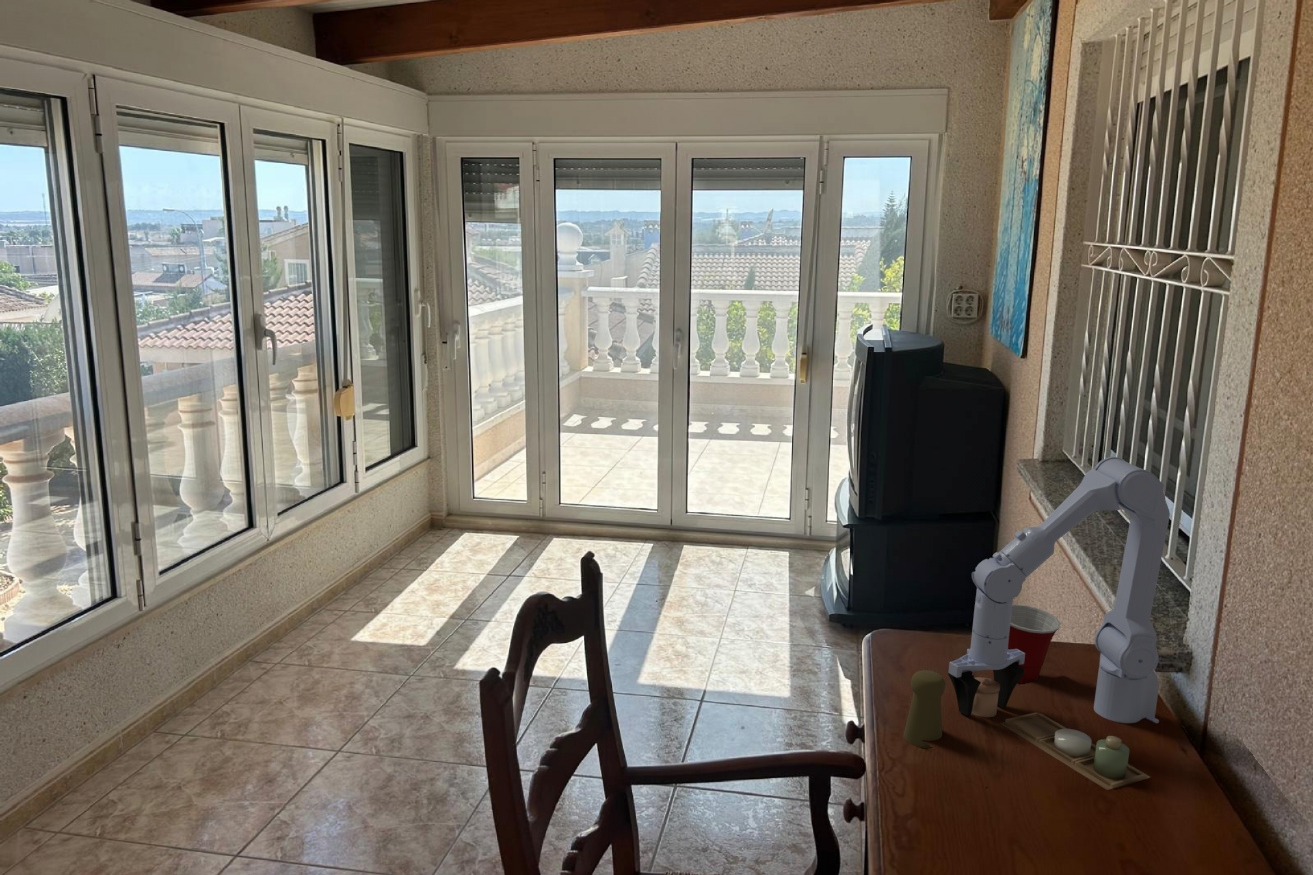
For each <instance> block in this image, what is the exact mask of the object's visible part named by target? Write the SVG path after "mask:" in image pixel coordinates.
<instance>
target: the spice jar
mask: <svg viewBox="0 0 1313 875" xmlns="http://www.w3.org/2000/svg"><path fill="white" fill-rule="evenodd" d="M974 678H975V679H976V680H978V681H980V682H981V684H980V685H979V687H978V689H977V691H976V694H975V697H974V702H973V709H972V713H971V714H973V715H975V716H977V717H981V718H991V717H992V718H993V717H995V716H996V715H997V712H998V705H997V704H998V695H999V691H1000V684H999V683H998V682H996V681H994V679H992V678H989V677H979V676H978V677H974Z"/></svg>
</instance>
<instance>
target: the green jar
mask: <svg viewBox="0 0 1313 875" xmlns="http://www.w3.org/2000/svg"><path fill="white" fill-rule="evenodd" d="M1095 745H1096V752H1095V759H1094V766H1093V769H1094V771H1095V772H1096V773H1098V774H1099V775H1101V776H1103V777H1106V778H1109V779H1123V778H1125V776H1126V771H1127V764H1129V756H1130V748H1129V747H1128V746H1127V745H1126V744H1124V743H1122V739H1121V738H1120V737H1117V736H1115V735H1108V736H1106V738H1104V739H1099V740H1097V742H1096V744H1095Z"/></svg>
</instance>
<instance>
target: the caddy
mask: <svg viewBox="0 0 1313 875" xmlns="http://www.w3.org/2000/svg"><path fill="white" fill-rule="evenodd" d="M999 724H1000V725H1002V726H1003V727H1004V728H1007V729H1008V730H1010V731H1011V732H1013V733H1014V734H1016V735H1018V736H1019V737H1020V738H1022V739H1024V740H1026V741H1027V742H1029V743H1031V744H1032V745H1034V746H1035V747H1037V748H1039V749H1040V750H1042V751H1043V752H1045V753H1046V754H1048V755H1050V756H1052V757H1053V758H1055V759H1056V760H1058V761H1060V762H1061V763H1063V764H1064V765H1066V766H1068V767H1069V768H1071V769H1072V770H1074V771H1075V772H1077V773H1079V774H1081V775H1083V776H1084V777H1086V778H1087V779H1088V780H1090V781H1091V782H1094V783H1096V784H1097V785H1098V786H1099V787H1102V788H1103V789H1105V790H1106V791H1109V790H1113V789H1118V788H1120V787H1123V786H1127V785H1130V784H1135V783H1136V782H1137V783H1138V782H1141V781H1145V780H1147V779H1150V778H1152V776H1150V775H1148V774H1146V773H1145V772H1143V771H1141V770H1139V769H1137V768H1136V767H1134V766H1133V765H1131V764H1130V763H1128V764H1127V771H1126V776H1125V778H1123V779H1109V778H1106V777H1103V776H1101V775H1099V774H1098V773H1096V772H1095V771H1094V769H1093V766H1094V759H1095V752H1096V745H1097V744H1094V743H1093V742H1091V750H1090V755H1087V756H1083V757H1080V758H1076V757H1070V756H1068V755H1066V754H1064V753H1063V752H1061V751H1059V750H1058V749H1056V748H1054V739H1055V732H1056V731H1057V730H1059V729H1068V728H1067V727H1066V726H1063V725H1062V724H1060V723H1058V722H1056V721H1054V720H1053V719H1051V718H1049V717H1048V716H1046V715H1045V714H1043V713H1039V712H1037V711H1036V712H1030V713H1027V714H1023V715H1018V716H1015V717H1010V718H1006V719H1005V721H1003V722H1000V723H999Z"/></svg>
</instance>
